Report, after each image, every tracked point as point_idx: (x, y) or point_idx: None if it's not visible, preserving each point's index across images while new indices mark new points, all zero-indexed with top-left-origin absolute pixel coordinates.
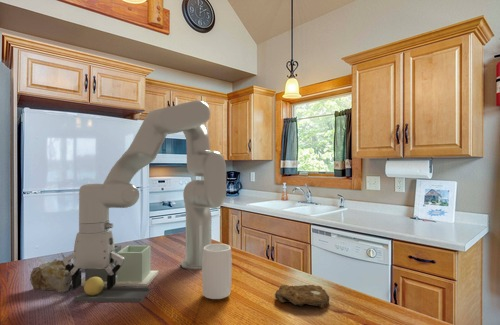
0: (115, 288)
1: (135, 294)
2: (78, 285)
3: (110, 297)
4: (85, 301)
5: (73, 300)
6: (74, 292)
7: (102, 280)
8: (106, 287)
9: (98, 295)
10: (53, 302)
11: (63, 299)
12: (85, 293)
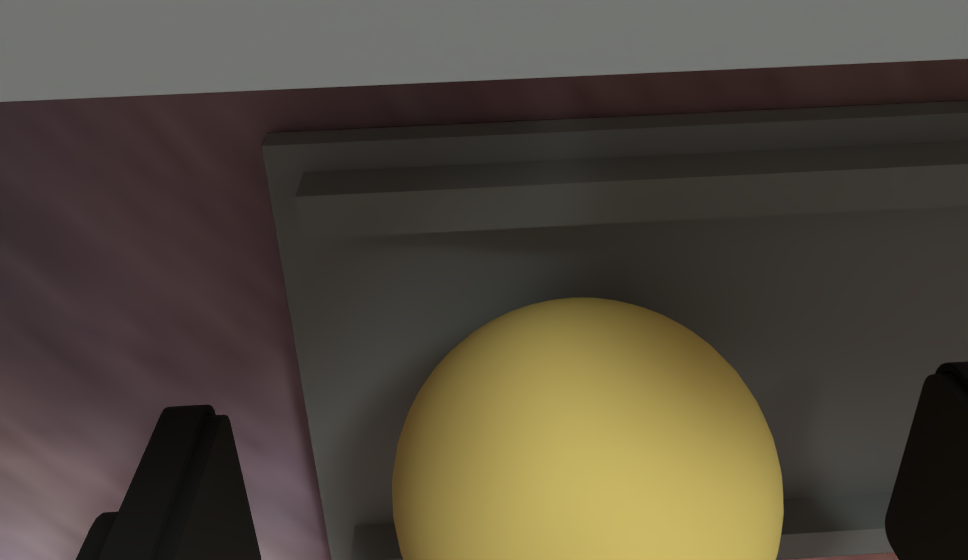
0: (915, 200)
1: None
2: (240, 511)
3: None
4: None
5: (344, 545)
6: (66, 235)
7: (773, 496)
8: (724, 212)
9: None
10: (46, 545)
11: (111, 465)
12: (368, 339)
